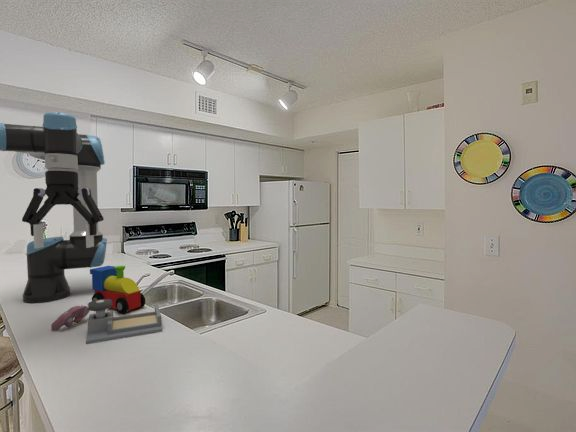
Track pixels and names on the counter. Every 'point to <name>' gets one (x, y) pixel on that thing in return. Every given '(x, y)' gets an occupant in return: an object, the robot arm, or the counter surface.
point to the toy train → (116, 288)
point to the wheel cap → (100, 306)
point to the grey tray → (122, 325)
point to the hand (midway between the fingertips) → (64, 247)
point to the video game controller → (70, 317)
